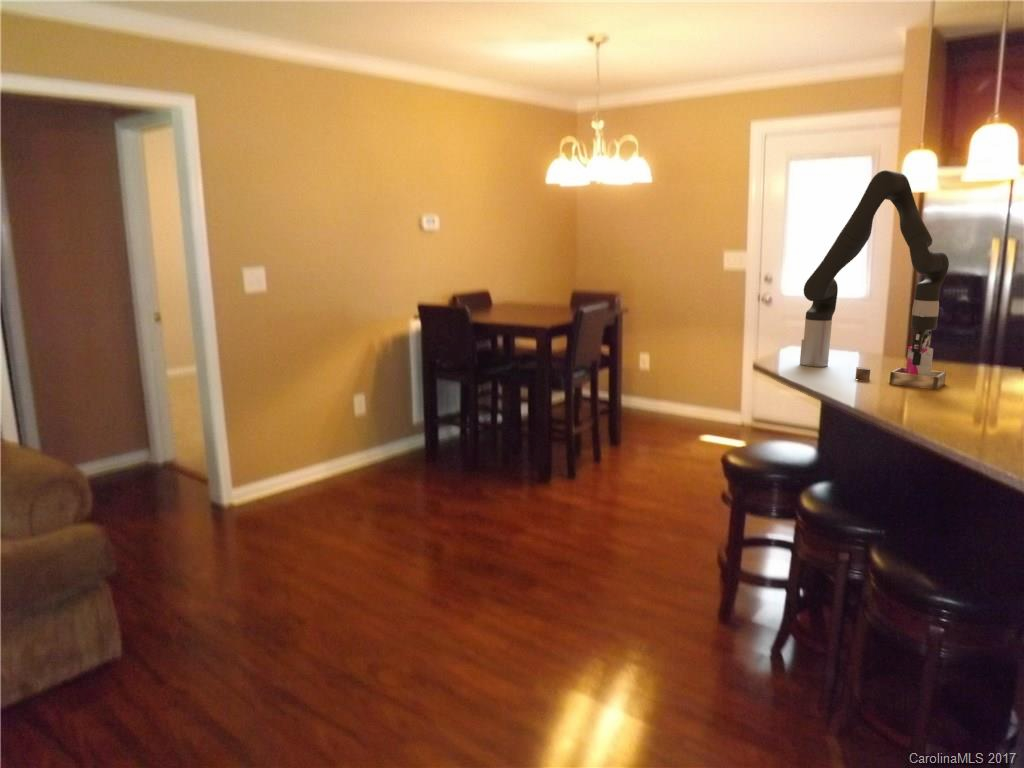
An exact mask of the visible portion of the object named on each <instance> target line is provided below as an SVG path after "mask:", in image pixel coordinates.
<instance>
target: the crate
mask: <svg viewBox="0 0 1024 768" xmlns="http://www.w3.org/2000/svg"><path fill="white" fill-rule="evenodd" d="M946 374H947V371H940V370H939V371H938V370H937V371H936V370H931V376H924V375H916V374H907V373H906V367H901V366H899V367H897V368H896V369H893V370H892V371H890V374H889V385H894V384H895V386H902V385H903V387H910V386H911V388H912V387H913V388H918V387H919V388H920V389H926V388H927V390H935V389H936V391H937V390H938V389H940V388H941V387H942V386H944V385H945V383H946V376H947V375H946Z"/></svg>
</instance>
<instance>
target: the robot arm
mask: <svg viewBox="0 0 1024 768" xmlns="http://www.w3.org/2000/svg"><path fill="white" fill-rule="evenodd" d="M885 200H888V201H890V202H891V203H892V204H893V206H894V207H895V208H896V210H897V213H898V215H899V216H898V217H899V230H900V232H901V234H902V236H903V240H904V241H905V243H906V244H907V247H908V249H909V256H910V261H911V265H912V267H913V269H914V271H916V272H917V273H919V274H921V275H926V276H925V278H924V279H923V281H920V282H918V283H917V284H916V286H915V291H914V292H915V293H914V301H913V304H912V309H911V310H912V312H911V320H910V328H912V329H914V330H916V333H913V337H912V346H911V347H912V350H911V351H912V352H913V353H914V354H913V362H912V364H913V365H920V362H921V354H922V350H923V348H925V347H929V348H931V340H932V333H933V331H934V330H937V327H938V320H939V319H938V318H939V312H940V311H939V310H940V302H939V301H940V296H941V287H942V285H943V283H944V281H945V280H946V279H945V278H946V276H947V274H948V271H949V268H950V267H949V266H950V261H949V258H948V256H947V254H946V253H944V252H942V251H930V250H929V248H930V246H932V244H933V237H932V236H931V234H930V232H929V230H928V228H927V225H925V222H924V220H923V218H922V217H921V214H920V211H919V210H918V206H917V204H916V201H915V197H914V194H913V191H912V188H911V185H910V182H909V179H908V177H907V176H906V175H905V174H904V173H901V172H898V171H893V170H888V169H883V170H881V171H878V172H877V173H876V174H875V175H874V176H873V177H872V179H871V180H870V181H869V183H868V185H867V187H866V189H865V191H864V193H863V195H862V196H861V199H860V201H859V203H858V205H857V206H856V208H855V209H854V210H853V212H852V214H851V216H850V218H849V219H848V221H847V222H846V224H845V225H844V227H843V228H842V229H841V231H840V233H839V234H838V236H837V237H836V239H835V241H834V243H833V244H832V246H831V247H830V248H829V250H828V251H827V253H826V255H825V256H824V258H823V259H822V261H821V262H820V263H819V265H818V266H817V268H816V269H815V270H814V271H813V273H812V274H811V275H810V277H809V278H807V280H806V282H805V283H804V286H803V295H804V298H806V299H807V300H808V301H811V302H812V305H811V306H810V308H809V309H808V310H807V311H806V313H805V318H804V320H805V321H804V331H803V338H802V339H801V346H800V355H799V358H800V359H799V365H803V366H808V367H815V368H816V367H823V368H824V367H828V365H829V357H830V348H831V347H830V346H831V335H832V334H831V333H832V324H833V316H834V313H835V311H836V308H837V307H836V306H837V299H838V291H839V290H838V282H837V281H836V280H835V278H836V276H837V275H838V273H840V272H841V270H842V269H844V267H846V266H847V265H848V264H850V263H851V261H853V259H855V258H856V257H857V256H858V255H859V254H860V252H861V251H862V250H863V248H864V247H865V245H866V243H868V240H869V239H870V237H871V234H872V229H873V224H874V218H875V215H876V213H877V211H878V210H879V208H880V207H881V206H882V204H883V202H884V201H885ZM916 348H919V349H916Z"/></svg>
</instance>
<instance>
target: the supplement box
mask: <svg viewBox="0 0 1024 768" xmlns="http://www.w3.org/2000/svg"><path fill="white" fill-rule="evenodd" d="M916 349H919V348H916ZM911 350H912V346H908V349H907V356H906V357H907V359H906V367H905V368H906V373H907V374H916V375H924V376H931V371H932V366H933V365H932V364H933V355H934V348H932V347H930V348H929V347H925V348H923V350H922V354H921V362H920V365H913V364H912V362H913V354H914V353H913V352H912V351H911Z"/></svg>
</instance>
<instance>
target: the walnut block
mask: <svg viewBox="0 0 1024 768" xmlns="http://www.w3.org/2000/svg"><path fill="white" fill-rule="evenodd" d="M870 375H871V368H870V367H866V366H865V367H862V366H856V369H855V380H856V379H858V380H857V381H859V380H869V381H870V377H871V376H870Z"/></svg>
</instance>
